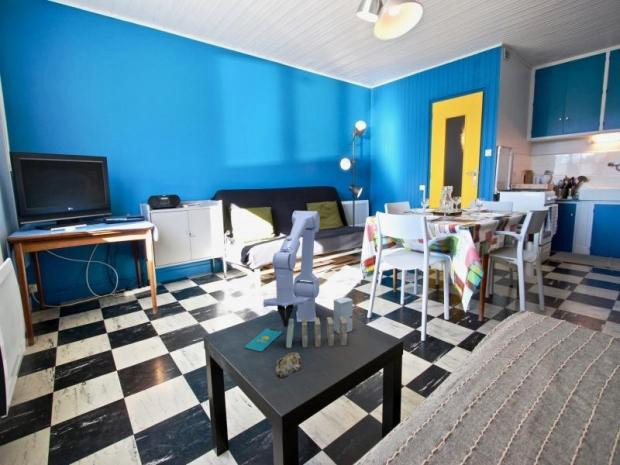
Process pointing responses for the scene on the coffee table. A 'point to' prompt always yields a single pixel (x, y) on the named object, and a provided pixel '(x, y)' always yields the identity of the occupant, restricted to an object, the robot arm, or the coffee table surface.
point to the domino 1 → (290, 333)
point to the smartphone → (263, 340)
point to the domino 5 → (343, 331)
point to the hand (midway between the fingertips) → (285, 325)
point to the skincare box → (343, 313)
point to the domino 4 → (330, 331)
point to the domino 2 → (304, 332)
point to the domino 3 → (317, 332)
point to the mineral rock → (288, 364)
